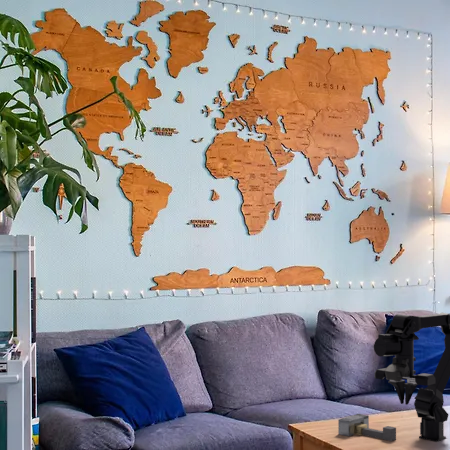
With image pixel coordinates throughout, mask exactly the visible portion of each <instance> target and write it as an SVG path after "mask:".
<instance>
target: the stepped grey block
mask: <svg viewBox="0 0 450 450" xmlns="http://www.w3.org/2000/svg"><path fill="white" fill-rule="evenodd" d="M361 436H365V437H371V438H375V439H381V440H383V441H389V442H393V441H395V440H397V427H396V426H395V427H394V426H389V425H388V426H384V427H382V430H378V429H374V428H370V427H369V428H363V429H362V435H361Z"/></svg>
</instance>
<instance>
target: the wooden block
mask: <svg viewBox="0 0 450 450" xmlns="http://www.w3.org/2000/svg"><path fill="white" fill-rule="evenodd" d="M363 428H367V424H361V423H354V435H357V436H363V435H362V429H363Z"/></svg>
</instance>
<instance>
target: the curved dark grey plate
mask: <svg viewBox="0 0 450 450" xmlns="http://www.w3.org/2000/svg"><path fill="white" fill-rule="evenodd" d="M369 416H370V415H369V414H368V415H367V414H362V413H356V414H353V415H349V416H346V417H343V418H338V419H337V420H338V425H337V426H338V427H337V428H338V430H337V431H338V432H337V433H338V435H341V436H346V437H351V436H354V435H355V434H354V423H361V424H367V428H370V427H369V426H370V425H369V424H370V423H369V419H370V418H369Z"/></svg>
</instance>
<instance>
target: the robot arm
mask: <svg viewBox="0 0 450 450" xmlns="http://www.w3.org/2000/svg"><path fill="white" fill-rule="evenodd" d="M437 327H440V330H441V332H442V334H443V335H444V336H445V337H444V340H443V341H444V351H443V353H442V355H441V357H440V359H439V361H438V363H437V366H436V368H435V370H434V372H433V374H432V373H431V374H430V373H425V372H424V373H420V374H417V373H416V370H414V368H415V367H414V366H415V365H414V364H415V362H416V359H417V357H415V356H414V355H415V353H414V349H415V348H414V343H415V341H416V340H417V341H419V339H420V338H419V336H418V335H416V333H417V332H419V331H420V330H423V329H428V328H437ZM377 337H378V338H376V339H375V342H374V344H373V351H374V352H375V355H377V356H378V357H391V356H394V357H392V363H391V364H389V365H388V366H387V367H385V368H379V369H376V370H375V371H374V379H375V380H384V379H386V380H387V381H388V384H390V385H392V386H393V387H394V389H395V391H396V394H397V397H398V400H399V403H400V404H401V405H403V404H404V403H405V405H406V406H407V405H409V404H410V401H411V399H412V397H413V394H414V392H415V390H416V389H417V386H426V387H425V388H423V387H420V388H419V389H418V391H417V394H416V396H414V399H415V400H414V402H413V406H414V409H415V413H416V415H417V418H420V420H421V421H420V423H419V429H420V430H419V431H420V432H419V435H418V438H419V439H422V440H427V441H428V440H429V441H433V442H439V441H441V440H445V439H446V438H447V436H445V435H444V433H445V432H444V429H445V427H444V422H447V421H448V419H449V413H448V412H447V410H446V409H445V408H444V407H443V406H444V403H445V402H444V394H443V393H444V391H445V389H446V386H447V384H448V382H449V379H450V313H448V312H440V313H434V314H424V315H409V314H402V313H401V314H399V313H397V314H395V315H394V316H393V317H392V320H391V322H390V323H389V325H388V328H387V329H386V331H385V333H383V334H382V333H379V334H378V336H377Z"/></svg>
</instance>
